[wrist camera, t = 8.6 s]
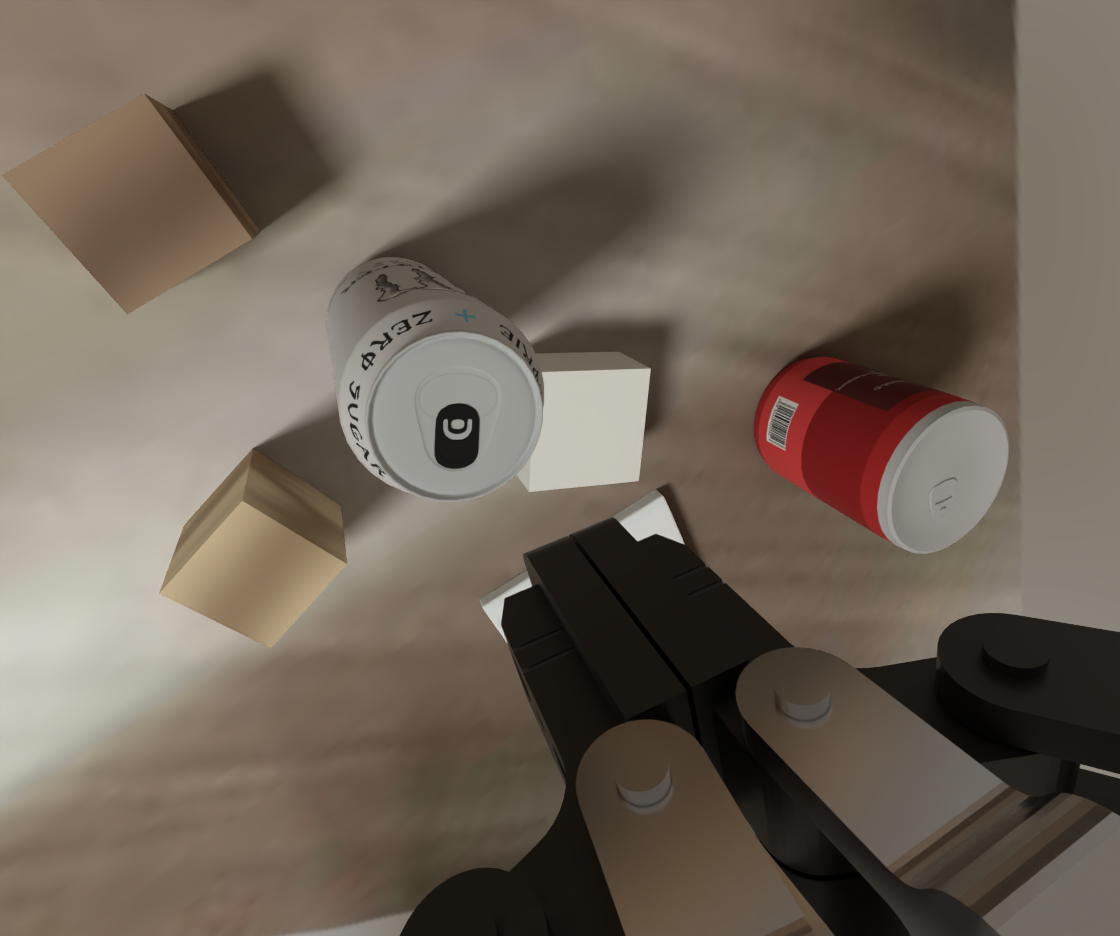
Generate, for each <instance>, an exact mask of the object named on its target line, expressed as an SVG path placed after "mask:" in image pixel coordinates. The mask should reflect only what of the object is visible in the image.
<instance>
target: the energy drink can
mask: <svg viewBox="0 0 1120 936" xmlns="http://www.w3.org/2000/svg"><path fill="white" fill-rule="evenodd" d="M326 325H327V332H328V339H329V346H330V353H331V360H332V367H333V374H334V381H335V388H336V395H337V403H338V410H339V417H340V423H341V426H342V429H343V432H344V435H345V437H346V440H347V443H348V444H349V446H350V447H351V449H352V451H353V452H354V454H355V455H356V457H357V459H358V460H359V461H360V462H361V463H362V464H363V465H364V466H365V467H366V468H367V469H368V470H369V471H370V472H371V473H372V474H373V475H375V476H376V477H378V478H379V479H381V480H382V481H383V482H385V483H386V484H388V485H390V486H393V487H395V488H397V489H399V490H402V491H404V492H407V493H412V494H414V495H417V496H419V497H421V498H425V499H430V500H434V501H441V502H458V501H465V500H472V499H475V498H478V497H481V496H484V495H487V494H489V493H491V492H492V491H494V490H496V489H498V488H500V487H502V486H503V485H504V484H506V483H507V482H508V481H509V480H511V479H512V478H513V477H515V475H516V474H517V473H518V472H519V471H520V470H521V469H522V468H523V467H524V465H525V464H526V463H527V461H528V459H529V458H530V456H531V455H532V453H533V451H534V449H535V447H536V444H537V442H538V439H539V437H540V433H541V427H542V422H543V406H544V381H543V376H542V371H541V366H540V364H539V361H538V359H537V356H536V354H535V352H534V349H533V347H532V346H531V345H530V343H529V342H528V340H527V339H526V337H525V336H524V334H523V333H522V332H521V331H520V330H519V329H518V328H517V327H516V326H515V325H514V324H513V323H512V322H511V321H510V320H509V319H508V318H506V317H505V316H503V315H501V314H500V313H498V312H497V311H495V310H494V309H492V308H491V307H489V306H487V305H486V304H484V303H483V302H481V301H480V300H478V299H476V298H475V297H473V296H472V295H470V294H469V293H467V292H466V291H464V290H462V289H461V288H459V287H458V286H456V285H455V284H453V283H452V282H450V281H448V280H447V279H445V278H444V277H442V276H441V275H439V274H438V273H436V272H434V271H433V270H431V269H430V268H428V267H426V266H425V265H423V264H421V263H418V262H416V261H413V260H410V259H405V258H399V257H384V258H379V259H375V260H370V261H368V262H366V263H364V264H361V265H359V266H357V267H356V268H355V269H353V270H352V271H351V272H349V273H348V274H347V275H346V276H345V277H344V278H343V279H342V280H341V282H340V283H339V284H338V285H337V287H336V289H335V291H334V292H333V294H332V296H331V299H330V302H329V306H328V309H327V321H326Z"/></svg>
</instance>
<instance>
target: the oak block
mask: <svg viewBox="0 0 1120 936" xmlns="http://www.w3.org/2000/svg"><path fill="white" fill-rule="evenodd" d="M346 565H347V559H346V549H345V540H344V531H343V521H342V512H341V505H339V504H338V503H336V502H335V501H333V500H332V499H330V498H329V497H327V496H326V495H324V494H323V493H321V492H320V491H318V490H316V489H315V488H313V487H312V486H310V485H309V484H307V483H306V482H304V481H303V480H301V479H300V478H298V477H297V476H295V475H294V474H292V473H291V472H289V471H288V470H286V469H285V468H283V467H282V466H280V465H279V464H277V463H275V462H274V461H272V460H271V459H269V458H268V457H266V456H265V455H263V454H262V453H260V452H259V451H257V450H256V449H254V448H253V449H252V450H251V451H250V452H249V453H248V454H247V455H246V457H245V458H244V459H243V460H242V461H241V462H240V463H239V464H238V466H237V467H236V468H235V469H234V470H233V471H232V472H231V473H230V475H229V476H228V477H227V478H226V479H225V480H224V481H223V482H222V484H221V485H220V486H219V487H218V488H217V489H216V490H215V491H214V492H213V494H212V495H211V496H210V497H209V498H208V499H207V500H206V501H205V503H204V504H203V505H202V506H201V507H200V508H199V509H198V510H197V512H196V513H195V514H194V515H193V516H192V517H191V518H190V519H189V521H188V522H187V523H186V524H185V525H184V527H183V530H182V533H181V535H180V538H179V541H178V543H177V546H176V549H175V552H174V554H173V557H172V560H171V563H170V565H169V568H168V571H167V574H166V576H165V579H164V582H163V584H162V587H161V590H160V593H159V594H161V595H163V596H165V597H167V598H169V599H171V600H173V601H175V602H177V603H180V604H182V605H184V606H186V607H188V608H190V609H192V610H194V611H196V612H198V613H200V614H202V615H204V616H206V617H208V618H210V619H212V620H214V621H216V622H218V623H220V624H222V625H224V626H226V627H228V628H230V629H232V630H235V631H237V632H239V633H241V634H243V635H245V636H247V637H249V638H251V639H253V640H255V641H257V642H259V643H261V644H263V645H265V646H267V647H269V648H271V647H272V646H273V645H274V644H275V643H276V642H277V641H278V639H279V638H280V637H281V636H282V635H283V634H284V633H285V632H286V631H287V630H288V628H289V627H290V626H291V625H292V624H293V623H294V622H295V621H296V620H297V619H298V617H299V616H300V615H301V614H302V613H303V612H304V611H305V610H306V609H307V608H308V607H309V605H310V604H311V603H312V602H313V601H314V600H315V599H316V598H317V597H318V596H319V594H320V593H321V592H322V591H323V590H324V589H325V588H326V587H327V586H328V585H329V584H330V582H331V581H332V580H333V579H334V578H335V577H336V576H337V575H338V574H339V573H340V571H341V570H342V569H343V568H344V567H345V566H346Z"/></svg>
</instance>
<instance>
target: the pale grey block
mask: <svg viewBox="0 0 1120 936" xmlns="http://www.w3.org/2000/svg"><path fill="white" fill-rule="evenodd" d="M535 354H536V356H537V359H538V361H539V364H540V366H541V371H542V376H543V381H544V406H543V422H542V427H541V433H540V437H539V439H538V442H537V444H536V447H535V449H534V451H533V453H532V455H531V456H530V458H529V459H528V461H527V463H526V464H525V465H524V467H523V468H522V469H521V470H520V471H519V472H518V473H517V474H516V475H517V476H518V477H519V479H520V480H521V481H522V483H523V484H524V485H525V487H526V488H527V489H528V491H529V492H532V491H542V490H552V489H562V488H573V487H583V486H593V485H603V484H614V483H624V482H634V481H639V473H640V464H641V455H642V446H643V436H644V427H645V418H646V409H647V400H648V390H649V381H650V372H651V368H649V367H647V366H645V365H643V364H641V363H639V362H638V361H636V360H634V359H632V358H630V357H628V356H626V355H624V354H622V353H620V352H577V353H535Z"/></svg>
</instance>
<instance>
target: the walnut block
mask: <svg viewBox="0 0 1120 936" xmlns="http://www.w3.org/2000/svg"><path fill="white" fill-rule="evenodd" d="M2 176H3V177H4V178H5V179H6V180H7V182H8V183H9V184H10V185H11V186H12V187H13V188H14V189H15V190H16V191H17V193H18V194H19V195H20V196H21V197H22V198H23V199H24V200H25V201H26V203H27V204H28V205H29V206H30V207H31V208H32V209H33V210H34V211H35V213H36V214H37V215H38V216H39V217H40V218H41V219H42V220H43V221H44V222H45V224H46V225H47V226H48V227H49V228H50V229H51V230H52V231H53V232H54V234H55V235H56V236H57V237H58V238H59V239H60V240H61V241H62V242H63V244H64V245H65V246H66V247H67V248H68V249H69V250H70V251H71V252H72V253H73V255H74V256H75V257H76V258H77V259H78V260H79V261H80V262H81V263H82V265H83V266H84V267H85V268H86V269H87V270H88V271H89V272H90V273H91V275H92V276H93V277H94V278H95V279H96V280H97V281H98V282H99V283H100V284H101V286H102V287H103V288H104V289H105V290H106V291H107V292H108V293H109V294H110V296H111V297H112V298H113V299H114V300H115V301H116V302H117V303H118V304H119V305H120V307H121V308H122V309H123V310H124V311H125V312H126V313H127V314H129V313H130V312H132V311H134V310H135V309H137V308H139V307H140V306H142V305H144V304H145V303H147V302H149V301H150V300H152V299H154V298H155V297H157V296H159V295H160V294H162V293H163V292H165V291H167V290H168V289H170V288H172V287H173V286H175V285H177V284H178V283H180V282H182V281H183V280H185V279H187V278H188V277H190V276H192V275H193V274H195V273H197V272H198V271H200V270H202V269H203V268H205V267H207V266H208V265H210V264H212V263H213V262H215V261H217V260H218V259H220V258H221V257H223V256H225V255H226V254H228V253H230V252H231V251H233V250H235V249H236V248H238V247H240V246H241V245H243V244H245V243H246V242H248V241H250V240H251V239H253V238H254V237H255V236H256V235H257V234H258V233H259V232H260V230H259V228H258V227H257V226H256V224H255V223H254V221H253V220H252V219H251V217H250V216H249V215H248V213H247V212H246V211H245V209H244V208H243V206H242V205H241V204H240V202H239V201H238V200H237V198H236V197H235V195H234V194H233V193H232V191H231V190H230V189H229V187H228V186H227V185H226V183H225V182H224V180H223V179H222V178H221V176H220V175H219V174H218V172H217V171H216V169H215V168H214V167H213V165H212V164H211V163H210V161H209V160H208V159H207V157H206V156H205V154H204V153H203V152H202V150H201V149H200V148H199V146H198V145H197V143H196V142H195V141H194V139H193V138H192V137H191V135H190V134H189V133H188V131H187V130H186V128H185V127H184V126H183V124H182V123H181V122H180V120H179V119H178V117H177V116H176V115H175V113H174V112H173V111H172V110H171V109H170V108H168V107H166V106H164V105H163V104H161V103H159V102H158V101H156V100H154V99H153V98H151V97H149V96H147V95H146V94H143V95H141V96H139V97H137V98H136V99H134V100H132V101H130V102H129V103H127V104H125V105H123V106H122V107H120V108H118V109H116V110H115V111H113V112H111V113H109V114H108V115H106V116H104V117H102V118H101V119H99V120H97V121H95V122H94V123H92V124H90V125H88V126H87V127H85V128H83V129H81V130H80V131H78V132H76V133H74V134H73V135H71V136H69V137H67V138H66V139H64V140H62V141H60V142H59V143H57V144H55V145H53V146H52V147H50V148H48V149H46V150H45V151H43V152H41V153H39V154H38V155H36V156H34V157H32V158H31V159H29V160H27V161H25V162H24V163H22V164H20V165H18V166H17V167H15V168H13V169H11V170H10V171H8V172H6V173H4V174H3V175H2Z"/></svg>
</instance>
